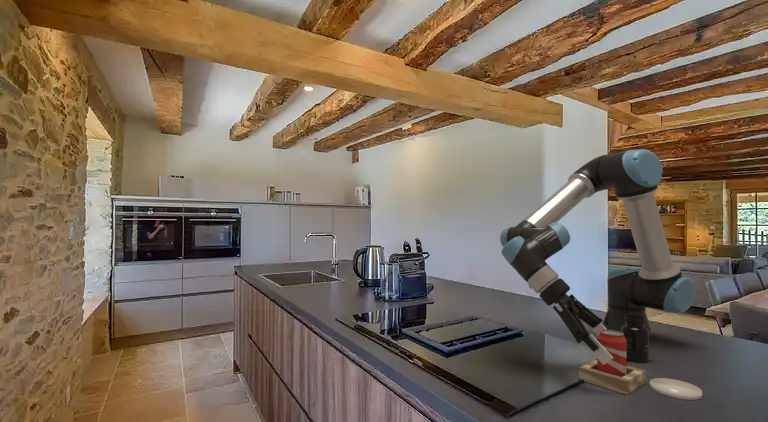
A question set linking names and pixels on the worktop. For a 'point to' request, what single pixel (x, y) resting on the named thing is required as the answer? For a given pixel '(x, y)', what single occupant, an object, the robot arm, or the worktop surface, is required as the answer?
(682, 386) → the coaster
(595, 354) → the robot arm
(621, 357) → the beverage can
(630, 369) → the oak holder
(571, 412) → the worktop surface
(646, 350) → the supplement bottle
